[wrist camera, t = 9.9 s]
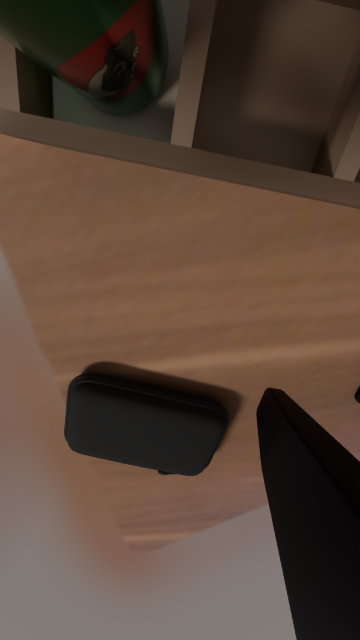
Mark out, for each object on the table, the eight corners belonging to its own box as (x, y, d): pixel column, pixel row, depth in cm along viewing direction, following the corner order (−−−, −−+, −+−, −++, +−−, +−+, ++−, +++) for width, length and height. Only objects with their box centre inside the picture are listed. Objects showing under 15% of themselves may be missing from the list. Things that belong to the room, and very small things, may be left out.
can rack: (431, 223, 17) (493, 234, 14) (42, 144, 16) (0, 133, 13) (552, 17, 13) (687, -45, 9) (30, -110, 12) (-39, -234, 8)
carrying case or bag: (69, 438, 29) (200, 465, 30) (56, 464, 26) (201, 493, 27) (76, 359, 24) (233, 395, 25) (62, 382, 21) (238, 421, 23)
